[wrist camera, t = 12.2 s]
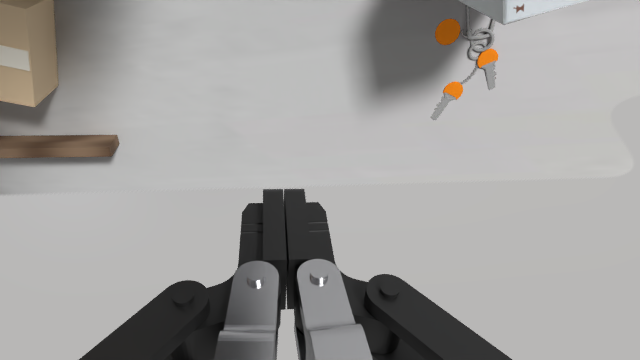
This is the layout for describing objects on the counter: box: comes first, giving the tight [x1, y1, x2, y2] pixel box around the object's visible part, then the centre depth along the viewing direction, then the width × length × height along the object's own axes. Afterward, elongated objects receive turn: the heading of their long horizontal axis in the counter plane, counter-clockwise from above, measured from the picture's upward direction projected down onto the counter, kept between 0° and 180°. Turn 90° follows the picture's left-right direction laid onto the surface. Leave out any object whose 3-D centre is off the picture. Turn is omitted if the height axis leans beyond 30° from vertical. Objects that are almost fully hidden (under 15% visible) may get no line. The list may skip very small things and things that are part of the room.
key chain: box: [431, 5, 498, 120], centre depth 41 cm, size 13×7×1 cm, turn 6°
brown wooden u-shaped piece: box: [0, 135, 119, 158], centre depth 36 cm, size 13×17×2 cm
